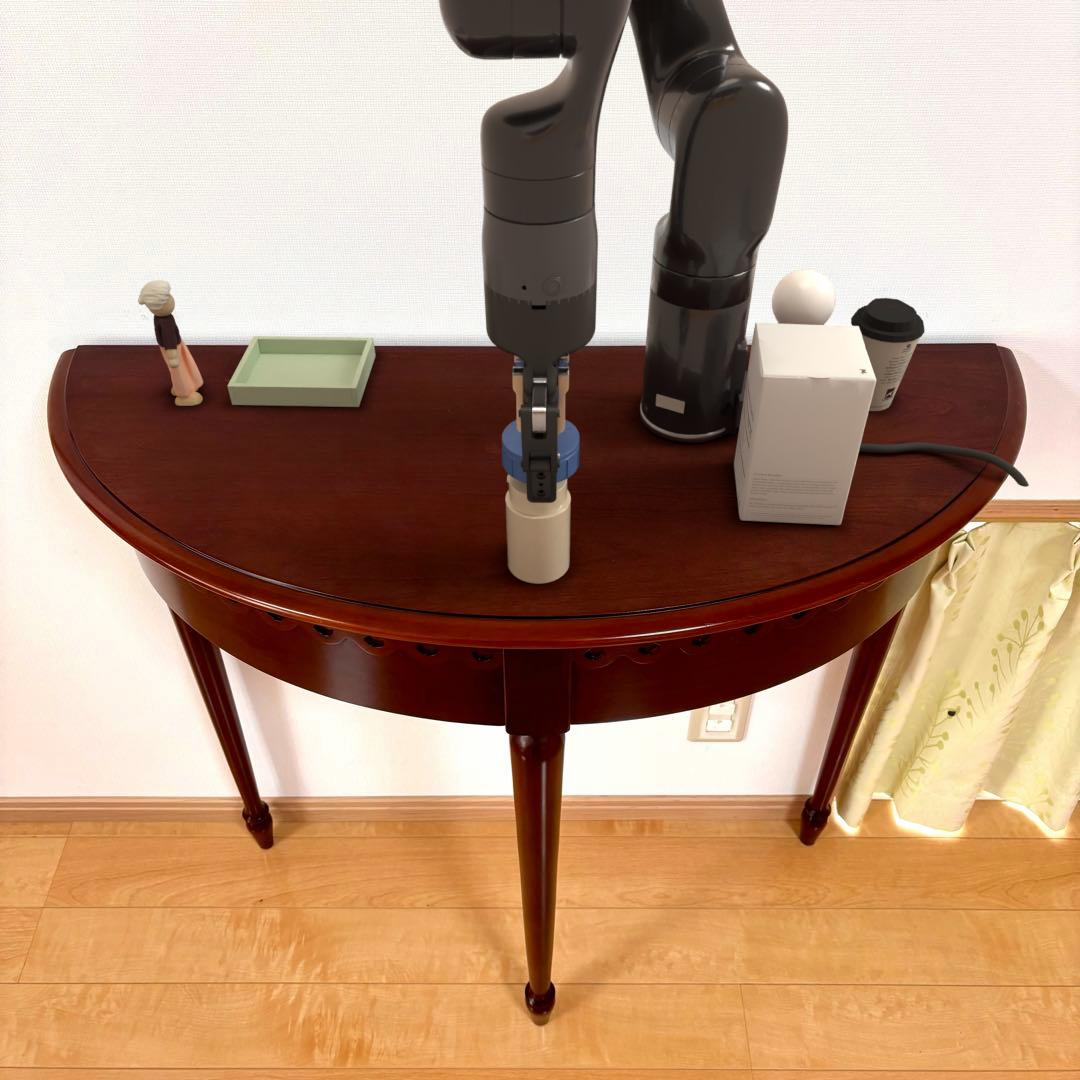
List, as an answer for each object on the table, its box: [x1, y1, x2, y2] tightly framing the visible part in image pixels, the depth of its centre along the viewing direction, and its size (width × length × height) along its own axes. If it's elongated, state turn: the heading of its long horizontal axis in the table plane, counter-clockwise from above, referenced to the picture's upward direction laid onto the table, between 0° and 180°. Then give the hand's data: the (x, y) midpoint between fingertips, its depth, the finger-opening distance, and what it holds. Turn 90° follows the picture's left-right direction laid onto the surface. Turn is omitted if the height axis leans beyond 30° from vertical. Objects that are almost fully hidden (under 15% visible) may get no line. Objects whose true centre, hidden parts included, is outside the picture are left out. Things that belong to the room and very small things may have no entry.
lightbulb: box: [771, 268, 837, 325], centre depth 100 cm, size 6×6×11 cm
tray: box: [226, 335, 377, 408], centre depth 102 cm, size 13×10×2 cm
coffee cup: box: [850, 297, 926, 412], centre depth 96 cm, size 7×7×10 cm
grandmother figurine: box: [137, 279, 204, 407], centre depth 96 cm, size 8×4×13 cm, turn 34°
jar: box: [504, 473, 572, 585], centre depth 78 cm, size 5×5×9 cm
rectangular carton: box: [733, 321, 876, 526], centre depth 82 cm, size 9×9×15 cm
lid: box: [501, 419, 581, 483], centre depth 73 cm, size 6×6×2 cm
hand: (542, 473), depth 74 cm, fingers closed on lid, 5 cm apart
